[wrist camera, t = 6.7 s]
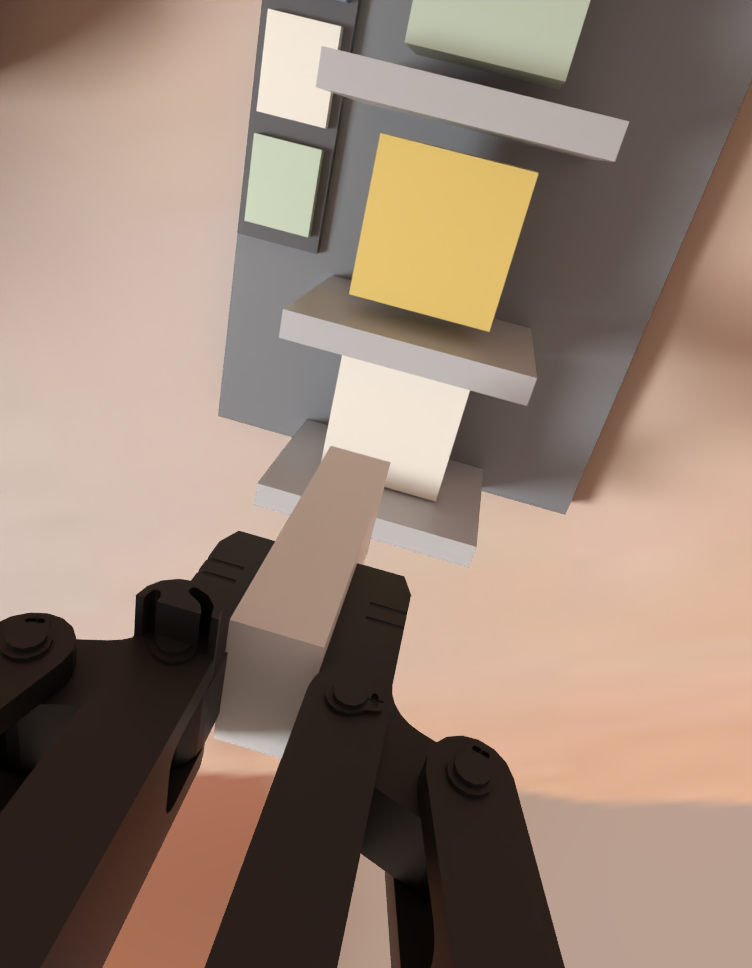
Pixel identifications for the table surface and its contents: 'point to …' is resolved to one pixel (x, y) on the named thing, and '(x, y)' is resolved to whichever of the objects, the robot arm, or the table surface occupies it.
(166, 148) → the table surface
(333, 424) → the key cream
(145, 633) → the robot arm
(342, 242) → the grey slotted rack
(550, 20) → the key sage
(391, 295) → the key mustard
